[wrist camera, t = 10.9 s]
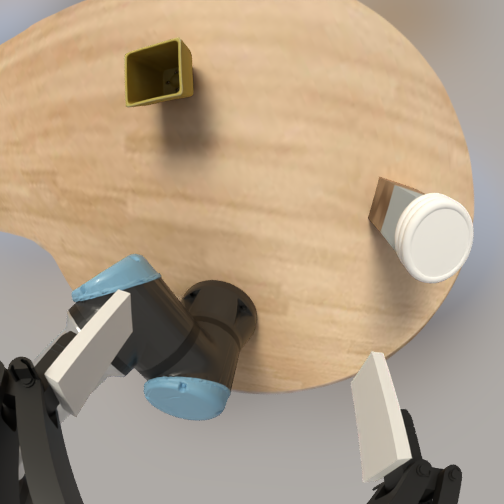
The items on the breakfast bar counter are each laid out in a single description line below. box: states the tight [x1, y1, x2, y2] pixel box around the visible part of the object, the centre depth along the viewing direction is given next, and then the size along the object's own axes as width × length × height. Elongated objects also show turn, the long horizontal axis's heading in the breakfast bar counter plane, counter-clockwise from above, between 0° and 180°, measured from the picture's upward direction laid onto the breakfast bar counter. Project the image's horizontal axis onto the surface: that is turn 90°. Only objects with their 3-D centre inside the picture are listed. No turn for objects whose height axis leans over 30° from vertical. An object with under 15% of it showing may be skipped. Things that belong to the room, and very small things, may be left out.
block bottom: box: [368, 177, 425, 232], centre depth 37 cm, size 7×7×7 cm
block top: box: [380, 185, 423, 252], centre depth 30 cm, size 7×7×7 cm
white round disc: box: [395, 193, 474, 283], centre depth 26 cm, size 10×10×4 cm
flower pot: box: [125, 38, 193, 107], centre depth 32 cm, size 9×9×9 cm
